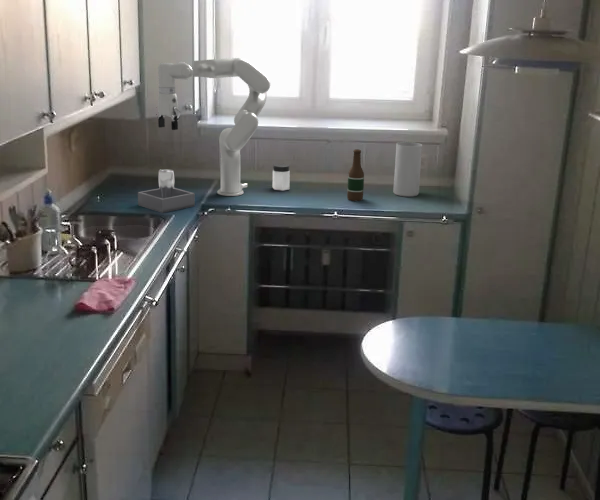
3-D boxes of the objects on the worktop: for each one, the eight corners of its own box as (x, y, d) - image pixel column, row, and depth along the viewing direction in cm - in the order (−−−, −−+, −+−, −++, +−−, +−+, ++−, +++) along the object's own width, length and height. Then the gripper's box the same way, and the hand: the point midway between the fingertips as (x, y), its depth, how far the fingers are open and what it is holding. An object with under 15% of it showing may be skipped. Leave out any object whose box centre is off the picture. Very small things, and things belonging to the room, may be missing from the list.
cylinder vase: (423, 195, 376) (427, 145, 368) (402, 197, 370) (405, 147, 363) (409, 190, 386) (412, 141, 379) (388, 192, 381) (391, 142, 373)
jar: (271, 186, 386) (271, 163, 382) (286, 186, 387) (287, 163, 384) (274, 190, 377) (275, 167, 374) (290, 190, 379) (291, 166, 376)
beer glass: (171, 205, 340) (170, 172, 335) (156, 204, 341) (155, 171, 336) (176, 202, 346) (176, 169, 342) (162, 201, 348) (161, 168, 343)
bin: (170, 199, 356) (169, 186, 354) (194, 206, 344) (194, 193, 343) (138, 205, 343) (137, 192, 341) (162, 212, 332) (162, 199, 330)
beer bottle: (366, 200, 364) (368, 150, 357) (352, 201, 360) (355, 151, 353) (356, 196, 370) (359, 147, 363) (343, 198, 366) (345, 149, 359)
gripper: (185, 92, 343) (186, 130, 348) (162, 88, 354) (163, 125, 359) (172, 93, 337) (173, 131, 343) (148, 89, 349) (150, 126, 354)
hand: (168, 128), depth 351 cm, fingers open, 9 cm apart
